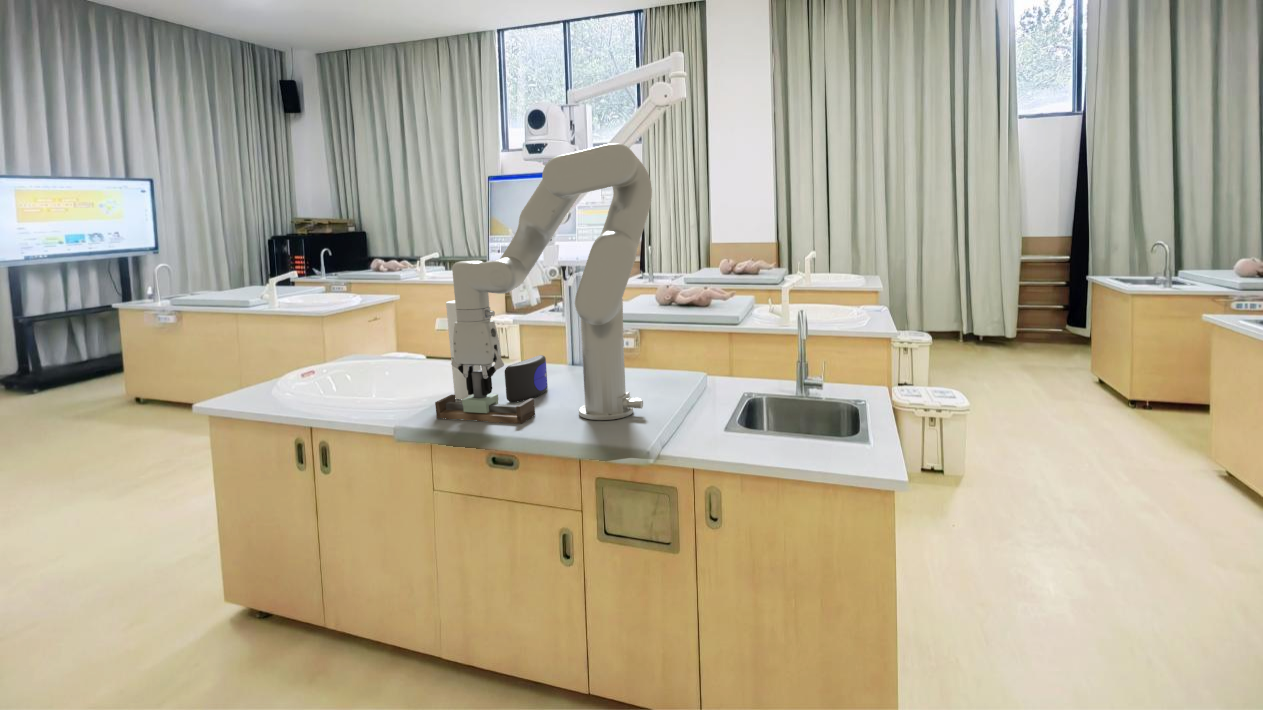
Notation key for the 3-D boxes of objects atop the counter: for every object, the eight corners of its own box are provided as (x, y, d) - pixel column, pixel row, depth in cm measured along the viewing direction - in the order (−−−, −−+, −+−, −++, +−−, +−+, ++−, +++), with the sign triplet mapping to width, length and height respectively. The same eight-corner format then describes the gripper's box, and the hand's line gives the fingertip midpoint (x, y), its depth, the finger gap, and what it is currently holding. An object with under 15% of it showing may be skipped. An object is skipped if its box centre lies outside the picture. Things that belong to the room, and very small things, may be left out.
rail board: (535, 415, 170) (533, 398, 169) (521, 423, 163) (520, 406, 162) (452, 410, 177) (451, 394, 176) (436, 418, 170) (435, 402, 169)
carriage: (499, 406, 172) (496, 369, 170) (486, 413, 166) (483, 375, 164) (476, 405, 174) (473, 368, 172) (463, 412, 168) (459, 374, 166)
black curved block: (520, 405, 180) (517, 367, 178) (505, 403, 182) (502, 366, 180) (557, 389, 193) (554, 354, 192) (542, 388, 196) (540, 353, 194)
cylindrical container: (476, 400, 185) (467, 302, 180) (450, 400, 186) (441, 303, 181) (487, 393, 192) (479, 299, 187) (461, 393, 193) (453, 299, 188)
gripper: (513, 313, 166) (519, 391, 170) (450, 312, 172) (457, 388, 175) (497, 318, 159) (503, 399, 163) (432, 317, 165) (440, 396, 168)
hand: (479, 393), depth 169 cm, fingers closed on carriage, 3 cm apart
